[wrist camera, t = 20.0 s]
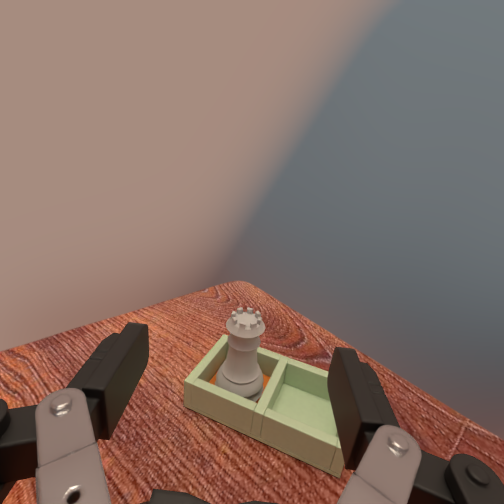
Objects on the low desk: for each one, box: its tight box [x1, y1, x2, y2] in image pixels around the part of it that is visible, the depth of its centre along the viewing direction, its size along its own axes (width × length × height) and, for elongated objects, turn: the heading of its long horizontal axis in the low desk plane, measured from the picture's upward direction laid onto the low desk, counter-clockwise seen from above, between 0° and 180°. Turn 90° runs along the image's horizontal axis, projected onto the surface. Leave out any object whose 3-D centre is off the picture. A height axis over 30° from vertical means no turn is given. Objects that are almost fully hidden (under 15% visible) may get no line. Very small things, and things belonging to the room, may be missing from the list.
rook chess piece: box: [215, 307, 265, 402], centre depth 27 cm, size 4×4×8 cm
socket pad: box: [184, 335, 344, 478], centre depth 27 cm, size 13×7×3 cm, turn 67°
